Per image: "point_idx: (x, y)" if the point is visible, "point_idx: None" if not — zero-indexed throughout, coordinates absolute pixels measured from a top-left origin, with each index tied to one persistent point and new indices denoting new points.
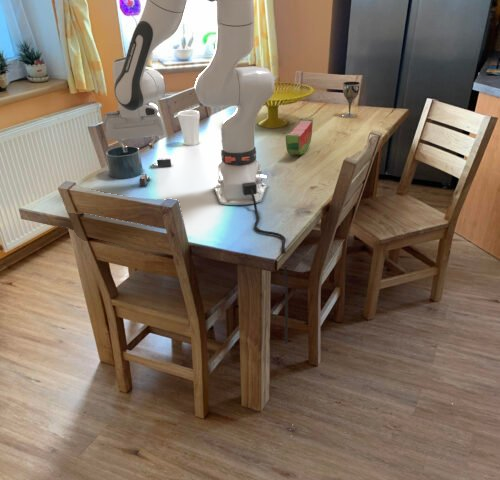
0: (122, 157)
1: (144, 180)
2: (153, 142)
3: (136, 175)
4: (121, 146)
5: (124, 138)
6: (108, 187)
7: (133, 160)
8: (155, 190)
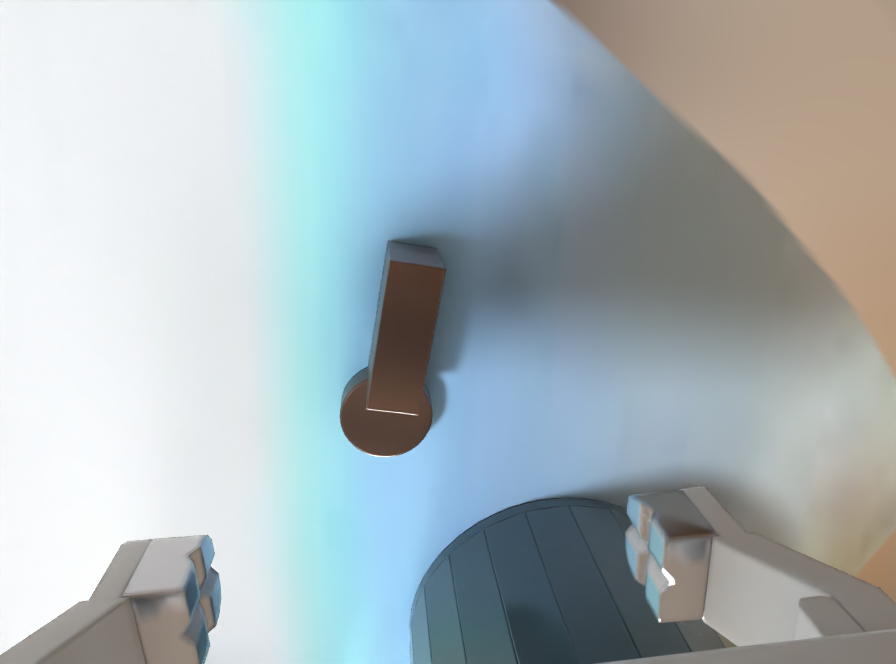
0: (631, 646)
1: (389, 255)
2: (56, 628)
3: (468, 533)
4: (778, 545)
5: (804, 652)
6: (736, 319)
7: (497, 639)
8: (277, 93)
